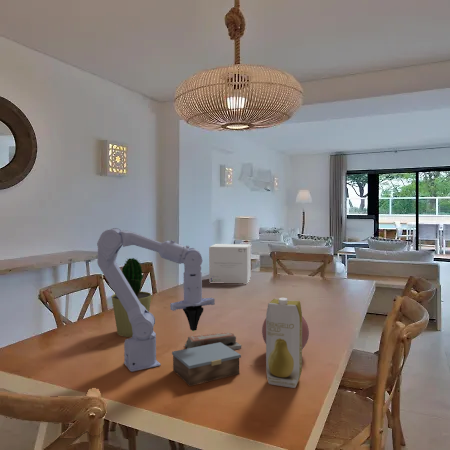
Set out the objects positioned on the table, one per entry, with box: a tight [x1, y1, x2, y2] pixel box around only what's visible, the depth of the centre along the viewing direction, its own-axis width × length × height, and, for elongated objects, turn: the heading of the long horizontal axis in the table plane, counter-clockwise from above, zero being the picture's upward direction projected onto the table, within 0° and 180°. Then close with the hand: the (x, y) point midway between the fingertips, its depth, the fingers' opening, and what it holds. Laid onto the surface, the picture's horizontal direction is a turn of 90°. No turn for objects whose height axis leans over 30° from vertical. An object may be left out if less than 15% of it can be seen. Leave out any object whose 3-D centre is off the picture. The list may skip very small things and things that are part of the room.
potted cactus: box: [111, 257, 152, 338], centre depth 156 cm, size 15×15×30 cm
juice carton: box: [265, 297, 303, 389], centre depth 111 cm, size 9×8×24 cm
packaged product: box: [184, 332, 242, 351], centre depth 139 cm, size 18×5×10 cm
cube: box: [208, 243, 252, 285], centre depth 266 cm, size 25×21×24 cm
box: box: [172, 355, 240, 387], centre depth 118 cm, size 16×12×5 cm
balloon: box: [261, 315, 310, 350], centre depth 130 cm, size 15×20×15 cm
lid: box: [171, 342, 242, 369], centre depth 117 cm, size 17×13×1 cm
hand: (193, 329), depth 125 cm, fingers closed
